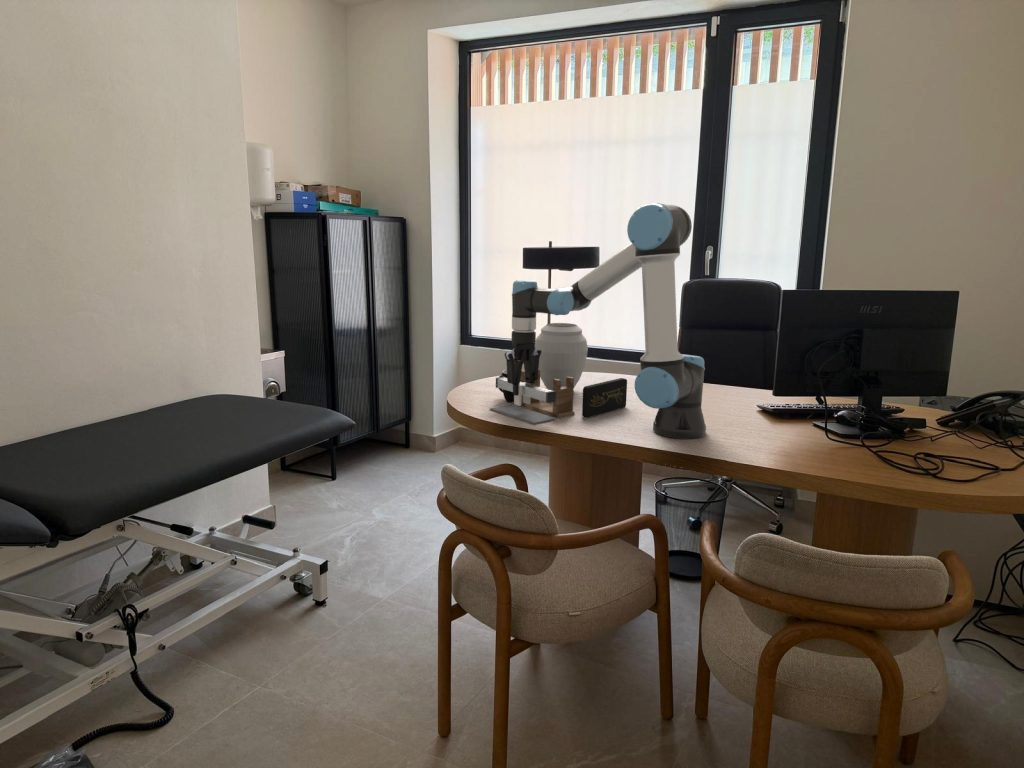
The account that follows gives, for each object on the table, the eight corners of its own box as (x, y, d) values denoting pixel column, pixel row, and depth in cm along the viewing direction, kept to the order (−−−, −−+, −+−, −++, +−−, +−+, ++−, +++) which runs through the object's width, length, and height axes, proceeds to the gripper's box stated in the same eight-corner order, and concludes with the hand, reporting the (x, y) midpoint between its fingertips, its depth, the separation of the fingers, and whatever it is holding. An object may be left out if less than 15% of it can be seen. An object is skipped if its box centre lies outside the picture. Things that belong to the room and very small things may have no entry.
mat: (556, 420, 215) (556, 418, 215) (534, 424, 209) (534, 422, 209) (511, 406, 231) (511, 404, 231) (490, 410, 226) (490, 408, 226)
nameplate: (621, 406, 233) (622, 377, 231) (625, 407, 232) (627, 378, 230) (581, 417, 219) (582, 386, 216) (586, 418, 217) (587, 387, 215)
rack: (574, 415, 221) (575, 378, 218) (559, 418, 217) (560, 380, 214) (533, 402, 236) (534, 368, 233) (518, 405, 232) (519, 370, 229)
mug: (532, 400, 240) (533, 371, 238) (517, 405, 233) (517, 375, 231) (505, 394, 247) (505, 367, 245) (489, 399, 240) (489, 370, 238)
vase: (554, 382, 268) (556, 320, 262) (596, 390, 255) (599, 325, 250) (522, 391, 253) (523, 324, 248) (565, 399, 241) (567, 330, 236)
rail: (555, 401, 209) (555, 391, 209) (547, 403, 207) (547, 392, 207) (503, 386, 229) (503, 376, 228) (495, 387, 227) (495, 377, 226)
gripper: (535, 327, 222) (533, 398, 227) (495, 331, 212) (494, 405, 217) (551, 330, 216) (549, 402, 222) (511, 334, 207) (509, 410, 212)
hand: (522, 403), depth 219 cm, fingers closed on rail, 3 cm apart
